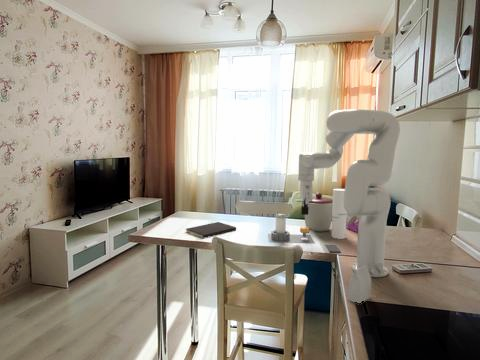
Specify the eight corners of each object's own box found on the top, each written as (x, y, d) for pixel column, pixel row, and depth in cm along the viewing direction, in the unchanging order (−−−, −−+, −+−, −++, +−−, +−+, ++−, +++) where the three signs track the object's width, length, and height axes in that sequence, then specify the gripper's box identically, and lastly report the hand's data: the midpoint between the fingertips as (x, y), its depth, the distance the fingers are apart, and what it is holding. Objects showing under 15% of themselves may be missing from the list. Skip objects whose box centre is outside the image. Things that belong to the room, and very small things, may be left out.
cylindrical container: (346, 239, 155) (348, 190, 152) (332, 238, 156) (333, 190, 154) (344, 235, 162) (346, 188, 159) (330, 234, 163) (332, 188, 161)
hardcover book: (185, 232, 167) (185, 228, 167) (218, 225, 182) (218, 221, 182) (203, 239, 155) (203, 235, 155) (236, 231, 171) (236, 227, 171)
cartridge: (285, 239, 150) (286, 216, 149) (275, 239, 150) (275, 215, 149) (285, 236, 155) (285, 213, 154) (274, 236, 156) (275, 213, 154)
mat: (340, 252, 135) (340, 251, 135) (320, 252, 136) (320, 250, 136) (335, 246, 144) (335, 244, 144) (316, 245, 145) (316, 244, 145)
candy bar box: (345, 228, 176) (346, 200, 174) (352, 227, 178) (353, 200, 176) (359, 233, 165) (360, 204, 164) (366, 232, 167) (368, 203, 165)
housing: (315, 245, 145) (315, 237, 145) (268, 244, 146) (269, 236, 146) (309, 236, 159) (310, 229, 159) (267, 235, 160) (267, 228, 160)
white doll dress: (370, 297, 95) (372, 266, 94) (359, 304, 91) (361, 272, 90) (359, 293, 98) (360, 263, 97) (348, 299, 94) (349, 268, 92)
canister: (333, 235, 162) (335, 196, 160) (299, 231, 168) (300, 194, 166) (334, 226, 179) (336, 191, 177) (303, 224, 185) (304, 189, 183)
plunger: (309, 237, 150) (309, 229, 149) (300, 237, 150) (300, 229, 150) (308, 235, 154) (308, 226, 154) (299, 235, 154) (299, 226, 154)
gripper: (316, 179, 141) (315, 218, 143) (311, 176, 156) (309, 211, 158) (300, 179, 142) (299, 217, 144) (296, 175, 157) (295, 210, 159)
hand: (304, 214), depth 151 cm, fingers closed
